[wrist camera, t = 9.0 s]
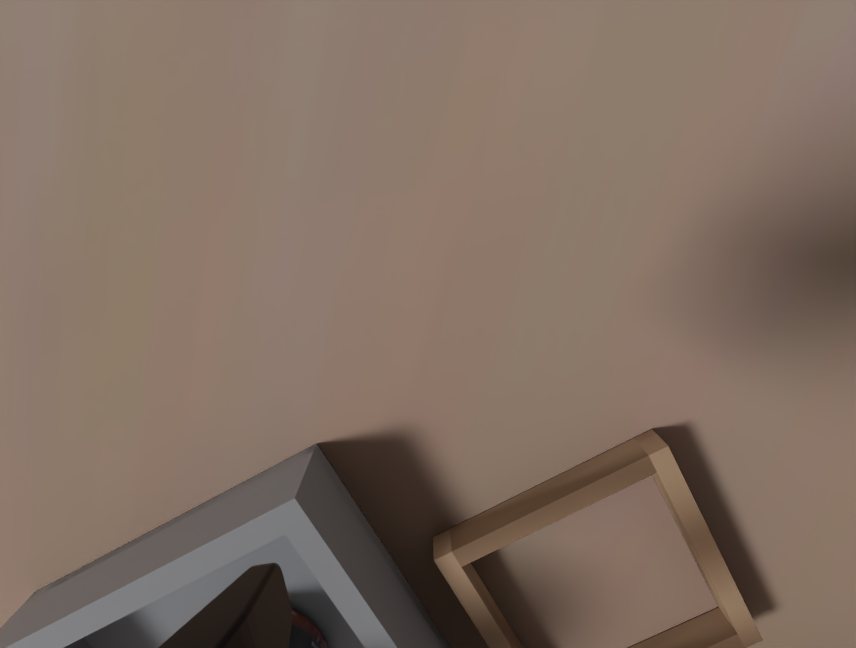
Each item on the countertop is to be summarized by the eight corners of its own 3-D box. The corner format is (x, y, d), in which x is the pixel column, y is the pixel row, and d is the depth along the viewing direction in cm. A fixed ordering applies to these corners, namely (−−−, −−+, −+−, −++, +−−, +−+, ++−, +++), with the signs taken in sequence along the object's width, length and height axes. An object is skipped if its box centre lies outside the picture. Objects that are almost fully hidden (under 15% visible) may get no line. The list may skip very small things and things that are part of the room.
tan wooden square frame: (742, 612, 24) (762, 640, 23) (538, 704, 26) (545, 735, 24) (652, 429, 22) (668, 445, 21) (432, 537, 23) (433, 560, 22)
